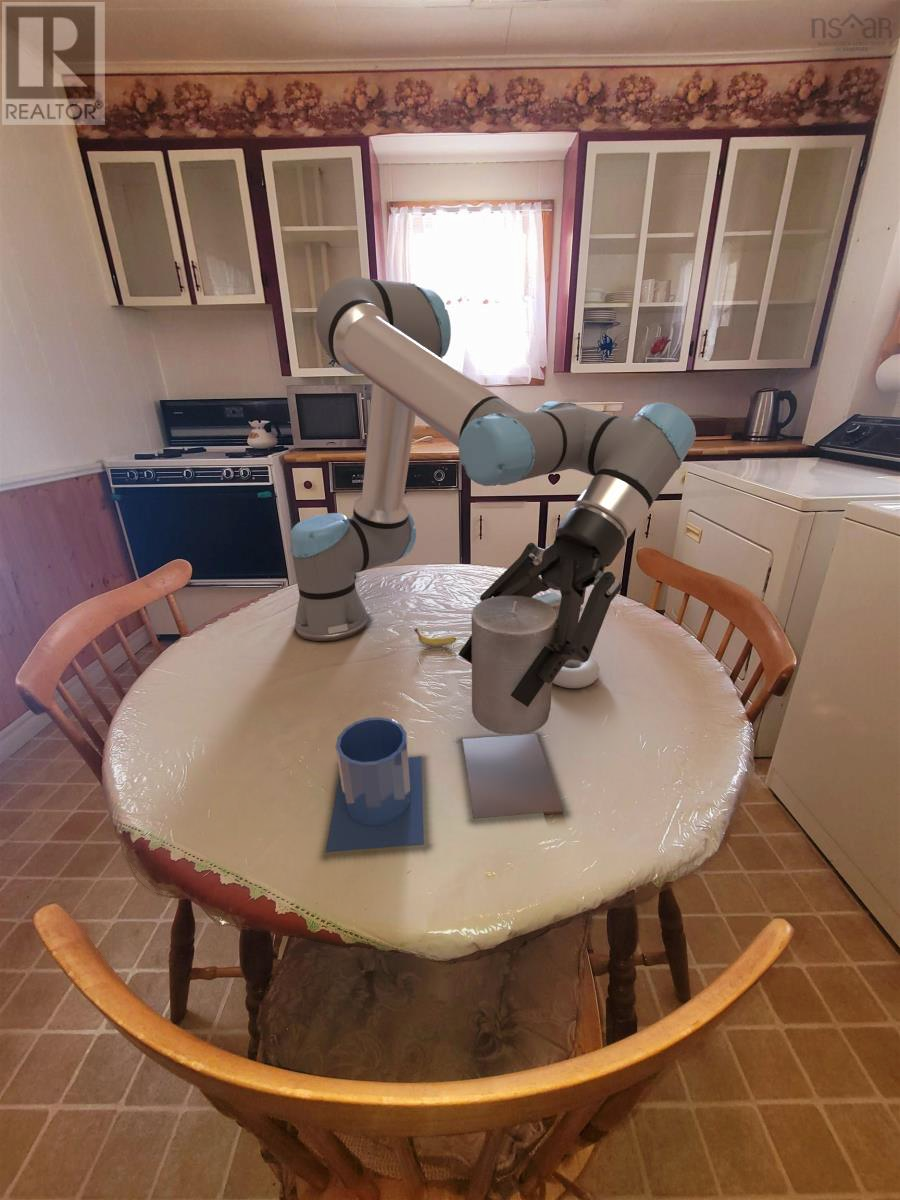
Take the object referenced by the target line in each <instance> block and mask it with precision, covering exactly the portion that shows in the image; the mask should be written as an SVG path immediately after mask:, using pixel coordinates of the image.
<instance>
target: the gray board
mask: <svg viewBox="0 0 900 1200" xmlns="http://www.w3.org/2000/svg"><path fill="white" fill-rule="evenodd" d="M461 742H462V748H463V755H464V762H465V770H466V776H467V783H468V790H469V797H470V798H469V799H470V804H471V811H472V818H473V819H479V818H480V819H481V818H491V817H492V818H493V817H494V818H495V817H504V816H505V817H506V816H517V815H529V814H542V813H543V816H546V815H547V816H550V815H559V814H560V815H561V814H562V815H563V814H564V812H565V811H564V808H563V805H562V801H561V798H560V796H559V793H558V791H557V788H556V784H555V783H554V780H553V777H552V774H551V772H550V771H551V770H550V767H549V766H548V763H547V760H546V757H545V753H544V752H543V749H542V746H541V743H540V740H539V738H538V734H537V733H525V734H511V735H501V736H499V735H498V736H487V737H485V736H483V737H469V738H461Z"/></svg>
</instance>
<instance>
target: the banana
mask: <svg viewBox="0 0 900 1200" xmlns="http://www.w3.org/2000/svg"><path fill="white" fill-rule="evenodd" d="M414 633H416V634H417V636H418V641H419V643H420V644H422V645H423V646H426V647H427V646H428V647H445V646H448V645H452V644H454V643H455V642H456V641H457V637H455V636H445V637H427V636H424V635H422V634H421V633H420V632H419V629H418V628H414Z"/></svg>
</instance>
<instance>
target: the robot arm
mask: <svg viewBox="0 0 900 1200" xmlns="http://www.w3.org/2000/svg"><path fill="white" fill-rule="evenodd" d="M315 327H316V334H317V336H318V339H319V343H320V344H321V346H322V348H323V350H324V351H325V352H326V353H327V355H328V356H329V358H330V359H332V360H333V361H334V362H335V363H336V364H337V365H338V366H340V367H341V368H342V369H343V370H344V371H346V372H348V373H350V374H353V375H363V376H364V377H366V378H367V379H368V380H369V381H371V390H370V401H369V412H368V413H369V414H368V426H367V437H366V448H365V457H364V459H365V460H364V469H363V470H364V471H363V481H362V491H361V493H362V494H361V496H359V498H357V499H356V500H355V501H354V503H353V511H352V516H351V517H347V516H346V515H344V514H342V513H337V512H329V513H325V514H316V515H313V516H310V517H307V518H304V519H302V520H301V521H298V522H297V523H295V525H294V526H293V527H292V528H291V530H290V533H289V537H290V554H292V561H293V566H294V572H295V577H296V583H297V588H298V595H299V598H298V603H297V609H296V614H295V630H296V633H297V635H299V636H300V637H301V638H303V639H305V640H309V641H313V642H333V641H338V640H343V639H347V638H349V637H352V636H354V635H356V634H358V633H360V632H361V631H362V630H365V628H366V627H367V625H368V623H369V622H368V620H369V619H368V612H367V610H366V607H365V605H364V603H363V601H362V599H361V596H360V595H359V593H358V591H357V587H356V581H355V580H356V578H357V574H358V573H361V572H364V571H368V570H371V569H374V568H377V567H380V566H384V565H387V564H392V563H396V562H398V561H399V560H401V559H403V558H405V557H407V556H408V555H410V553H411V552H412V550H413V549H414V547H415V544H416V540H417V529H416V527H415V526H414V525H415V520H414V518H413V516H412V514H410V510H409V508H408V506H407V505H406V504H405V503H404V498H405V493H406V492H405V491H406V483H407V477H408V470H409V464H410V457H411V451H412V445H413V438H414V437H413V436H414V430H415V423H416V417H418V418H419V419H420V420H422V421H423V422H424V423H425V424H427V425H428V426H429V427H431V428H432V429H433V430H435V431H436V432H437V433H438V434H440V435H441V436H442V437H443V438H445V439H446V440H448V441H449V442H450V443H452V445H454V446H455V447H456V448H458V457H459V462H460V464H461V466H463V468H464V470H465V472H466V473H465V475H467V477H468V478H469V479H470V480H471V481H473V482H474V483H476V484H478V485H481V486H484V487H493V486H508V485H511V484H512V485H513V484H516V483H518V482H522V481H525V480H528V479H533V478H537V477H540V476H546V475H549V474H553V473H558V472H562V471H567V470H575V471H578V472H581V473H584V474H587V475H590V476H592V478H591V481H589V483H588V484H587V486H586V487H585V488H584V490H583V491H582V493H580V495H579V497H578V498H577V499H576V501H575V502H574V508H572V509H570V510H569V511H568V512H567V514H566V516H565V517H564V518H563V520H562V521H561V522H560V524H559V525H558V527H557V528H556V530H555V537H554V541H553V542H552V543H551V544H550V545H549V546H547V547H546V548H541V547H538V546H537V545H536V544H535V542H530V543H528V544H527V545H526V546H525V548H524V549H523V551H522V553H521V554H520V556H519V557H518V558H516V560H515V561H514V562H513V563H512V564H511V565H510V566H509V567H508V568H507V569H506V570H504V572H503V573H502V574H501V575H500V576H499V577H497V579H496V580H495V581H494V582H493V583H492V584H491V585H490V586H489V587H487V589H486V590H485V591H483V593H481V595H480V597H479V600H480V602H481V601H483V600H486V599H489V598H492V597H499V596H525V597H530V598H532V597H535V596H537V595H538V594H539V593H541V592H547V591H549V590H550V589H552V590H554V591H559V593H560V595H561V603H560V608H559V614H558V619H557V622H556V630H555V636H554V642H553V643H551V644H552V645H551V644H550V643H549V646H550V647H551V648H552V649H553V651H552V650H551V649H550V648H548V647H546V646H544V648H543V649H542V651H541V652H540V653H539V655H538V656H537V658H536V659H535V661H534V662H533V663H532V665H531V666H530V668H529V669H528V671H527V672H526V673H525V675H524V676H523V678H522V679H521V681H520V682H519V684H518V685H517V686H516V688H515V689H514V691H513V692H512V694H511V696H512V697H513V698H515V699H516V700H518V701H519V702H521V703H522V704H524V705H525V706H527V707H528V706H529V705H530V703H531V702H532V701H533V699H534V698H535V696H536V695H537V693H538V692H539V690H540V689H541V688H542V686H543V685H544V683H545V682H547V683H548V684H549V683H551V682H552V681H553V680H554V678H555V676H556V675H557V674H558V672H559V671H560V670H561V668H562V667H563V665H564V664H565V663H566V662H567V661H568V660H579V661H580V662H582V663H584V662H586V661H588V659H589V657H590V655H591V654H592V652H593V649H594V646H595V644H596V642H597V639H598V637H599V633H600V631H601V628H602V626H603V624H604V621H605V618H606V616H607V613H608V611H609V607H610V605H611V602H612V601H613V600H614V598H616V596H617V595H618V594H619V593H620V591H621V590H622V588H623V586H622V583H621V582H620V581H619V580H618V578H617V576H615V574H614V573H613V572H612V571H606V572H604V571H605V568H608V567H609V566H611V565H612V563H614V561H615V559H616V558H617V556H618V555H619V553H620V552H621V550H622V549H623V548H624V546H625V544H626V541H625V540H626V539H629V538H630V537H631V536H632V534H633V532H634V531H635V530H636V528H637V527H638V526H639V525H640V523H641V521H642V520H643V518H644V517H645V515H646V514H647V512H648V511H649V510H650V508H652V505H653V504H654V502H655V501H656V500H657V498H658V497H659V495H660V494H661V492H663V490H664V488H666V485H667V484H668V483H669V481H670V480H671V479H672V477H674V474H675V473H676V472H677V471H678V470H679V469H680V468H681V466H682V463H683V461H684V459H685V458H686V456H687V455H688V453H689V451H690V450H691V448H692V446H693V445H694V443H695V441H696V437H697V432H696V426H695V424H694V421H693V420H692V419H691V417H690V416H689V415H688V414H687V413H686V412H685V411H683V410H682V409H681V408H679V407H677V406H675V405H673V404H671V403H668V402H661V401H657V402H655V403H648V404H646V405H644V406H643V407H642V408H641V409H640V410H639V411H638V412H637V413H636V414H635V416H633V417H632V418H628V417H625V416H617V415H613V414H610V413H605V412H602V411H598V410H594V409H590V408H587V407H583V406H580V405H577V404H576V403H574V402H562V401H556V400H549V401H545V402H544V403H543V404H542V406H541V407H538V408H537V409H535V411H534V410H533V411H522V410H520V409H519V408H516V407H515V406H514V405H512V404H510V403H509V402H507V401H506V400H504V399H502V398H501V397H499V396H498V395H496V394H495V393H494V392H492V391H490V390H489V389H487V387H485V386H483V385H482V384H480V383H478V381H476V380H474V379H473V378H471V377H470V376H468V375H467V374H466V373H464V372H462V371H461V370H459V369H457V368H456V367H454V366H453V365H452V364H450V363H449V362H447V361H446V360H444V359H443V357H445V356H446V354H447V352H448V351H449V348H450V345H451V339H452V338H451V336H452V327H451V320H450V316H449V312H448V310H447V309H446V306H445V303H444V301H443V299H442V297H441V296H440V295H439V294H438V293H437V292H436V291H434V290H433V289H432V288H429V287H426V286H423V285H419V284H415V283H411V282H402V281H394V280H393V281H392V280H383V279H382V280H381V279H371V278H367V277H359V276H355V277H347V278H344V279H343V278H342V279H341V280H339V281H337V282H334V283H333V284H332V285H330V287H328V288H327V290H326V291H325V292H324V293H323V294H322V296H321V297H320V300H319V303H318V305H317V309H316V313H315ZM592 585H593V588H592V589H591V591H590V592H589V593H590V594H589V595H588V598H587V601H586V602H585V597H586V592H587V588H589V587H590V586H592ZM584 603H585V604H584ZM583 605H585V606H584V608H583V609H582V612H580V609H581V607H582V606H583ZM580 614H581V615H580ZM457 655H458V656H459V657H460V658H462V659H463V660H465V661H466V662H468V663H470V664H471V665H472V634H470V636H469V638H468V639H467V641H466V642H465V643H464V645H463V646H462V648H461V649H460V651H459V652H458V654H457Z"/></svg>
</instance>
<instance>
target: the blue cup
mask: <svg viewBox="0 0 900 1200" xmlns="http://www.w3.org/2000/svg"><path fill="white" fill-rule="evenodd" d="M335 752H336V758H337V766H338V771H339V775H340V778H341V784H342V791H343V797H344V802H345V806H346V810H347V813H348V814H349V816H350V817H351V818H352V819H353V820H354V821H356V822H358V823H360V824H362V825H367V826H380V825H385V824H388V823H391V822H393V821H395V820H396V819H398V818H399V817H400V816H402V815H403V814H404V812H405V811H406V810H407V808H408V807H409V804H410V801H411V781H410V768H409V757H410V756H409V745H408V733H407V731H406V730H405V727H404V726H403V725H402V724H401V723H399V722H398V721H396V720H394V719H392V718H387V717H382V716H376V717H366V718H363V719H360V720H357V721H354V722H352V723H351V724H350V725H348V726H346V727H344V729H343V730H342V731H341V733H340V734H339V735H338V736H337V737H336V743H335Z"/></svg>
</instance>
